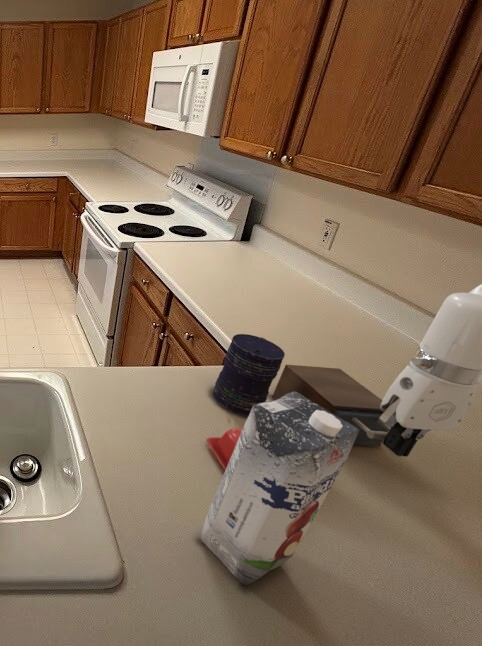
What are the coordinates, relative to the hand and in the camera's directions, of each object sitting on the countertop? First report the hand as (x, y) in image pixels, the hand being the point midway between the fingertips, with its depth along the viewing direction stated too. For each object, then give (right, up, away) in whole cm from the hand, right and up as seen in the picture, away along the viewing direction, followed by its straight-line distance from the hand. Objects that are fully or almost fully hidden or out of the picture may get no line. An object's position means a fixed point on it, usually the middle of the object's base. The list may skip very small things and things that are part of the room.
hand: (394, 450), depth 74 cm
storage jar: (-17, +2, +19) cm, 26 cm away
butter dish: (-26, -4, +1) cm, 26 cm away
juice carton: (-37, -9, -14) cm, 41 cm away
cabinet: (0, 0, +16) cm, 16 cm away
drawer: (0, -1, +11) cm, 12 cm away
